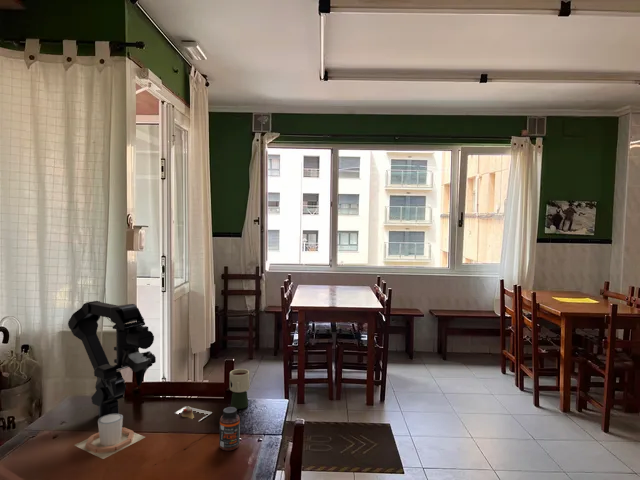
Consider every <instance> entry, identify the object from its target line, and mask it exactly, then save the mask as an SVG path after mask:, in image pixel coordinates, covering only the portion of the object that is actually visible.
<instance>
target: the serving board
mask: <svg viewBox="0 0 640 480" xmlns="http://www.w3.org/2000/svg"><path fill="white" fill-rule="evenodd" d="M128 436H129V435H127V434H124V433H121V441H120V442H118V443H117V444H119V443H121V442H123V441H125V440H127V439H128ZM145 438H146V436H144V435H141V434H139V433H136V432H134V436H133V439H132V442H131V443H130V444H128V445H126V446H124V447H122V448H120V449H118V450H115V451H110V452H102V453H97V452H96V453H95V452H93V451H91V450H88V449H86V443H87V441H88V439H89V438H86V439H85V440H82V441H80V442H78V443H75V444H74V445H73V446H74V447H77V448H79V449H81V450H82V451H85V452H87V453H89V454H92V455H93V456H95V457H97V458H100V459H102V460H104V459H106V458H108V457H110V456H113V455H114V454H116V453H118V452H120V451H123V450H124V449H126V448H128V447H129V446H132V445H133V444H136V443H138V442H140V441H141V440H143V439H145ZM92 444H93V445H95V446H97V447H106V446H103V445H101V444H100V437H99V438H96V439H94V441H93V443H92ZM117 444H114V445H110V446H115V445H117Z"/></svg>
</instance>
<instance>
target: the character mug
mask: <svg viewBox="0 0 640 480" xmlns="http://www.w3.org/2000/svg"><path fill="white" fill-rule="evenodd" d="M228 383H229V384H228V385H229V390H230V391H231V392H232V394H231V399H230V400H231V401H230V407H234V408H236V409H237V410H240V409H241V410H242V409H246V408H247V407H248V406H249V399H248V392H247V391H249V390H250V370H248V369H246V368H236V369H233V370H231V371H230V372H229V382H228Z"/></svg>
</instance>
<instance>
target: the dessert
mask: <svg viewBox="0 0 640 480" xmlns="http://www.w3.org/2000/svg"><path fill="white" fill-rule="evenodd" d="M193 411H196V412H195V413H197V412H199V413H198V414H201V413H204V414H203V415H205V416H202V418H200V419H199V420H198V422H201V421H202V420H204V419H205V418H207V417H208V416H210V415H211V414H212V413H213V412H212V411H209V410H208V411H207V410H203V409H199V408H194V407H191V406H189V405H188V406H183V407H182V408H180V409H178V410H177V411H174V414H175V415H176V414H177V415H179V413H180V414H181V417H182V418H189V419H191V420H194V419H193V418H195V415H194V412H193ZM206 414H208V415H206Z"/></svg>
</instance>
